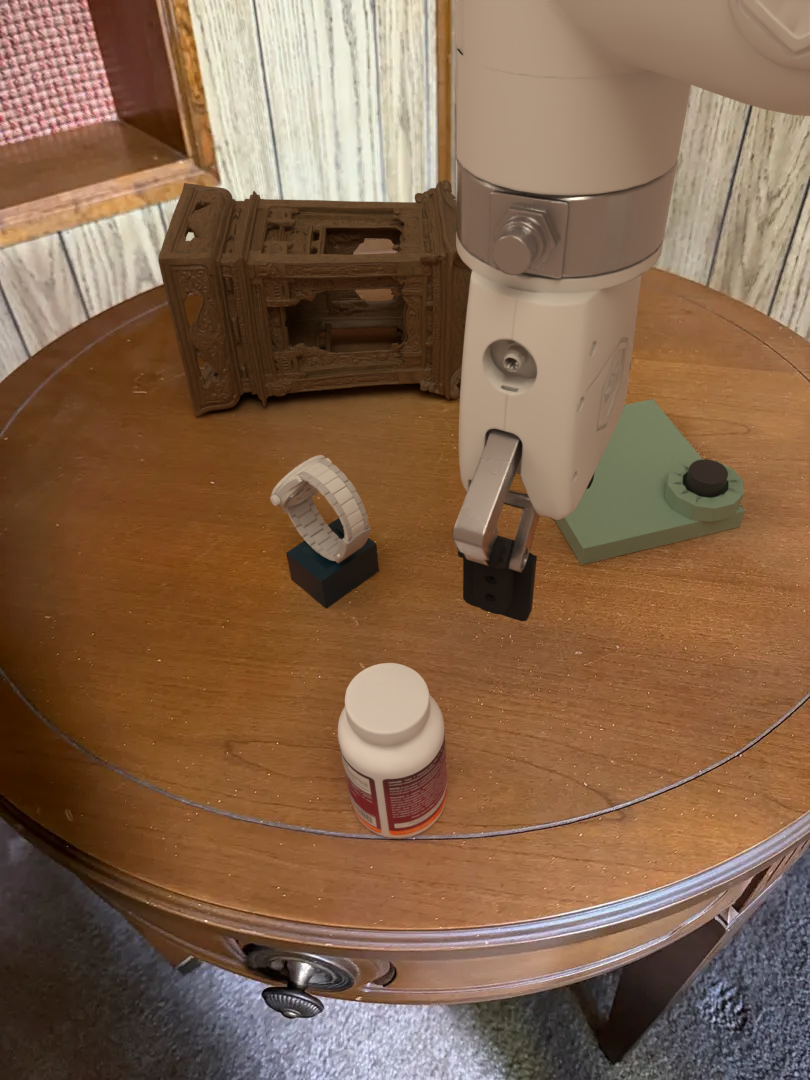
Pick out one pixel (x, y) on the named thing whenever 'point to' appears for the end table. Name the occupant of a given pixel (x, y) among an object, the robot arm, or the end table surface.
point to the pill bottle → (393, 751)
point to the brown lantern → (313, 293)
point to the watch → (326, 531)
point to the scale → (646, 492)
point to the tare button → (706, 478)
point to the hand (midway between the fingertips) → (531, 539)
